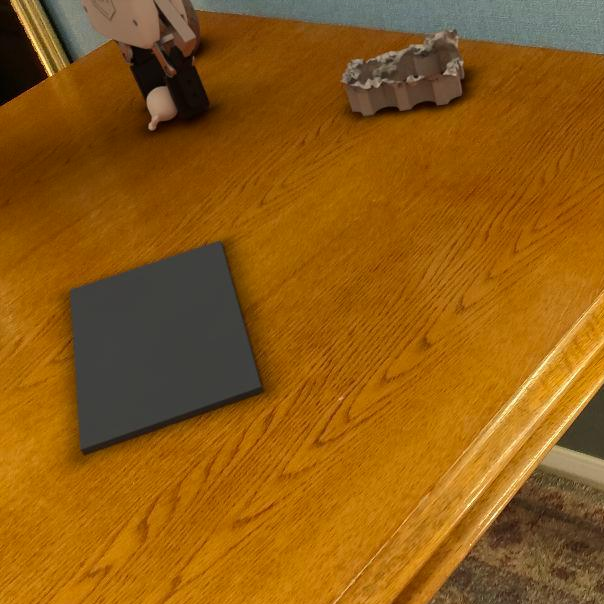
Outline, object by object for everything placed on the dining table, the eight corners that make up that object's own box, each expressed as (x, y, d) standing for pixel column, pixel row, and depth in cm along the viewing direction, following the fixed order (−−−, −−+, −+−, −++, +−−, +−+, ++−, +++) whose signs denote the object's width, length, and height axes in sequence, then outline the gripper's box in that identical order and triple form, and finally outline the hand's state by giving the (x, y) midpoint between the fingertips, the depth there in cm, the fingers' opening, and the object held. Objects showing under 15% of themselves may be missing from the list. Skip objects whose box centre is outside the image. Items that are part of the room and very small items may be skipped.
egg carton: (471, 71, 93) (462, 25, 90) (461, 110, 88) (451, 63, 85) (361, 83, 95) (349, 39, 92) (345, 122, 90) (332, 77, 87)
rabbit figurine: (131, 130, 96) (165, 58, 97) (170, 153, 98) (203, 82, 99) (140, 111, 91) (176, 36, 92) (182, 136, 93) (216, 61, 94)
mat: (74, 298, 77) (69, 289, 77) (224, 248, 79) (220, 239, 78) (86, 458, 64) (80, 449, 64) (265, 395, 66) (261, 386, 65)
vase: (154, 78, 103) (114, -12, 97) (139, 57, 108) (100, -30, 101) (217, 55, 105) (182, -35, 98) (199, 36, 109) (165, -52, 103)
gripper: (-2, -100, 85) (100, 107, 99) (103, -81, 77) (199, 143, 90) (72, -131, 89) (161, 73, 102) (180, -116, 80) (262, 105, 93)
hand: (178, 104), depth 96 cm, fingers closed on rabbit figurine, 4 cm apart
